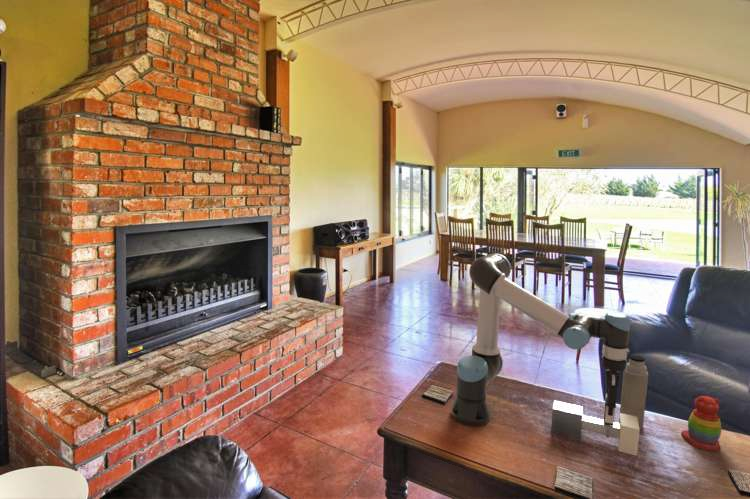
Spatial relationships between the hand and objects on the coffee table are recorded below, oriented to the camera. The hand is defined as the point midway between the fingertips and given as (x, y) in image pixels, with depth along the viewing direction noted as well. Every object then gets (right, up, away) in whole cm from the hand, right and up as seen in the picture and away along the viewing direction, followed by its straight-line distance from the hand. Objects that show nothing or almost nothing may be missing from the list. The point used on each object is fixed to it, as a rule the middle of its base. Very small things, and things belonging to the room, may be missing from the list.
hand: (608, 416), depth 149 cm
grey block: (-12, -9, +8) cm, 17 cm away
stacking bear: (+34, -10, +1) cm, 35 cm away
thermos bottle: (+15, -8, +12) cm, 21 cm away
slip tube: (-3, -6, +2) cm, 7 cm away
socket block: (+6, -10, -1) cm, 11 cm away
